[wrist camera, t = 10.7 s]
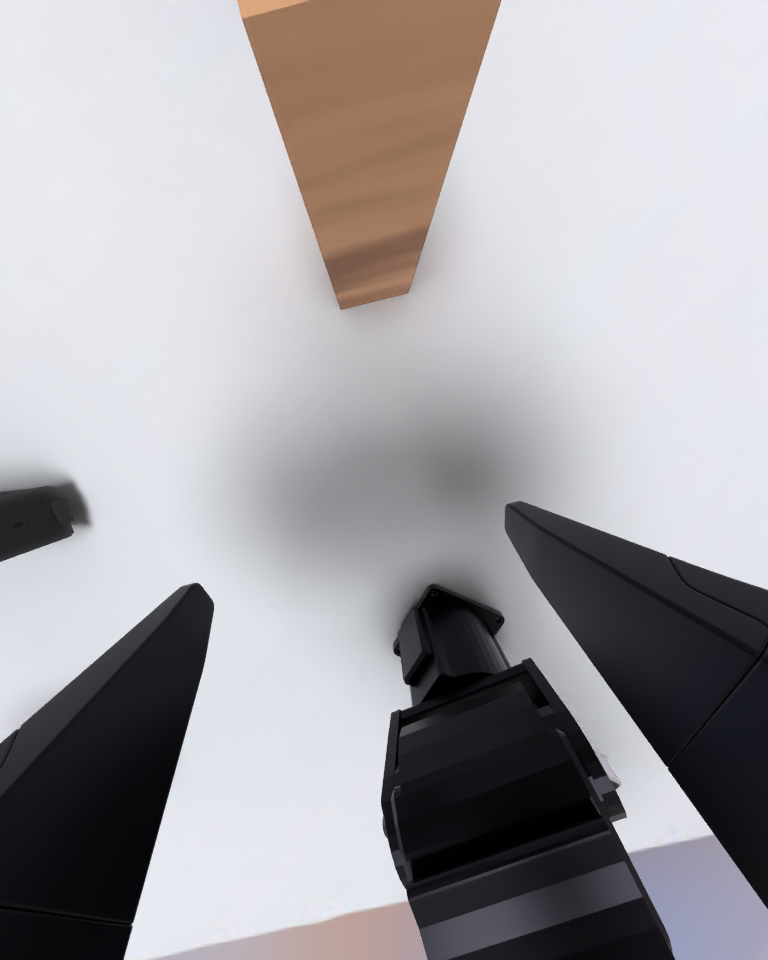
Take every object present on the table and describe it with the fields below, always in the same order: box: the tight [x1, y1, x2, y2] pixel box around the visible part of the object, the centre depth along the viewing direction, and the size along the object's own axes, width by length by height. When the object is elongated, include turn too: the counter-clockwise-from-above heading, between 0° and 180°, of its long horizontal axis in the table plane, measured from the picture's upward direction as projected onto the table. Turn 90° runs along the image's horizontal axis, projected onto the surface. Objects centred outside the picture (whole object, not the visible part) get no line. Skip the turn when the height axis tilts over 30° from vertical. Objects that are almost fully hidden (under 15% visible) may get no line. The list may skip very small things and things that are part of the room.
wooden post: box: [237, 0, 501, 309], centre depth 10 cm, size 5×4×13 cm
